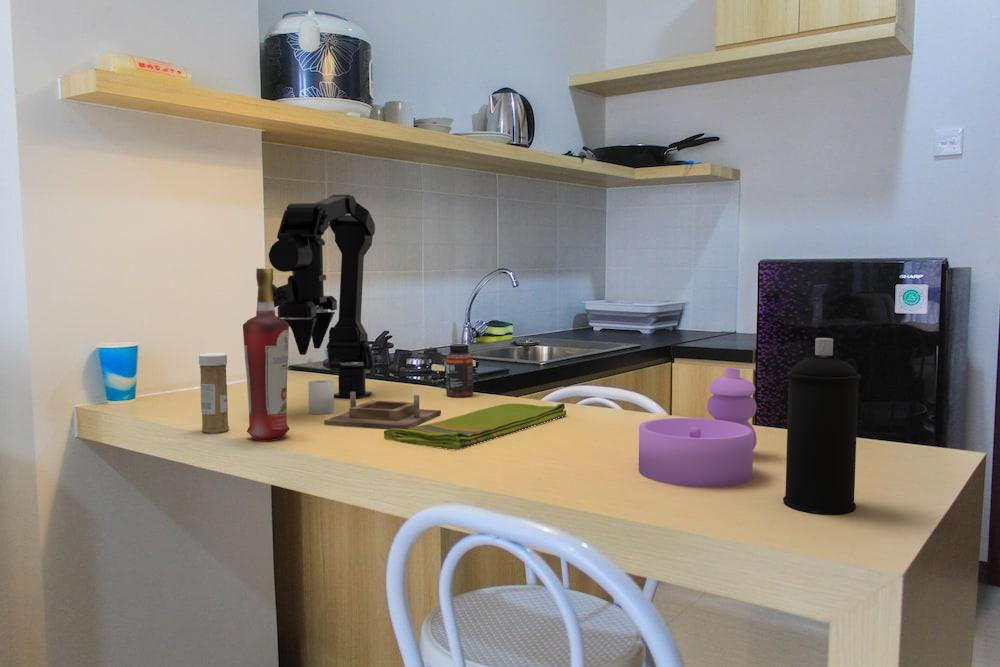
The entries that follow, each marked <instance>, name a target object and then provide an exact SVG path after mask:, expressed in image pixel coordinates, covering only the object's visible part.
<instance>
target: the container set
mask: <svg viewBox="0 0 1000 667" xmlns="http://www.w3.org/2000/svg"><path fill="white" fill-rule="evenodd" d="M708 389H709V392H710V393H711V394H712V395H711V396H710V397H709V398H708V400H707V403H706V408H707V412H708V413H709V415H710V416H711V417H712V418H703V417H702V418H699V417H671V418H668V417H667V418H658V419H651V420H647V421H644V422H641V423H640V424H639V427H638V472H639V474H640V475H641V476H642V477H644V478H646V479H648V480H650V481H655V482H658V483H662V484H666V485H673V486H679V487H688V488H689V487H691V488H725V487H726V488H727V487H733V486H740V485H743V484H746V483H748V482H750V481H751V480H752V479H753V470H754V469H753V462H754V460H753V459H754V449H755V448H756V445H757V443H758V442H757V441H758V438H757V432H756V430H755V428H754V427H753V426H752V424H750V422H749V420H750V419H752V418H753V417H754V415H755V414H756V413H757V408H758V406H757V402H756V400H755V398H753V397H752V396H753V395H754V394H755V392H756V390H757V389H756V386H755V384H754V383H753V382H752V381H750V380H749V379H746V378H744V377H741V369H740V368H736V367H728V368H726V367H725V368H724V376H721V377H718V378H716V379H714V380H713V381H711V382H710V383H709V386H708Z"/></svg>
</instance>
